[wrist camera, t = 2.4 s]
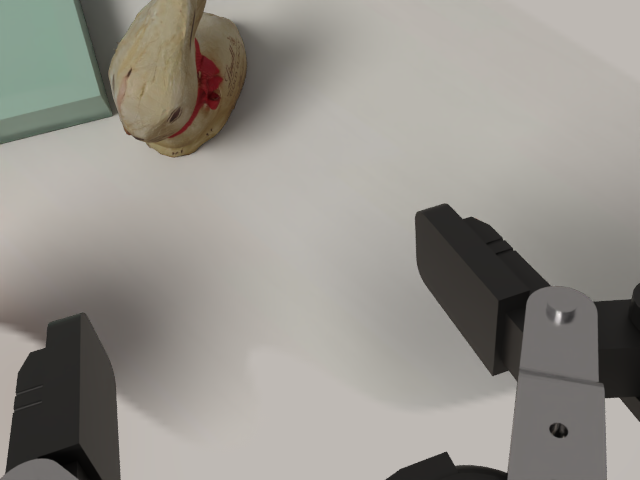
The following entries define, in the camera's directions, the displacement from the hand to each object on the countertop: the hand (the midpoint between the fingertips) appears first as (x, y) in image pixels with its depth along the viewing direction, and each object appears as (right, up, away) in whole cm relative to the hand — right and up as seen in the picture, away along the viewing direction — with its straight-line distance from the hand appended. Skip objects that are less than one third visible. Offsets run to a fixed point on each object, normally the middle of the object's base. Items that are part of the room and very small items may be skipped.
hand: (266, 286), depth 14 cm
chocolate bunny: (-5, +8, +16) cm, 19 cm away
